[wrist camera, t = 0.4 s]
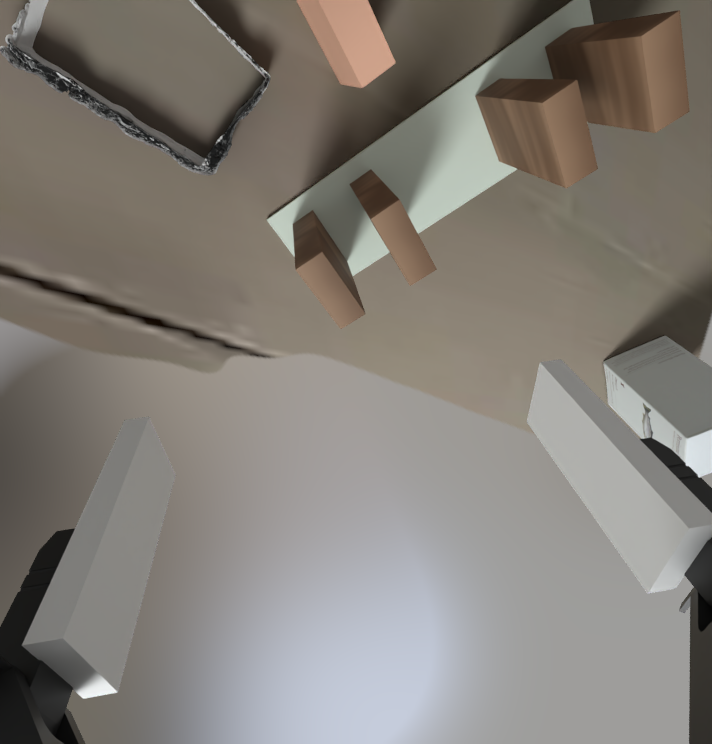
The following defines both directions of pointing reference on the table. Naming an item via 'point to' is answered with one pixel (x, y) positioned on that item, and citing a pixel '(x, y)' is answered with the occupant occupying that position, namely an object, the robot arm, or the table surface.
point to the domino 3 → (393, 226)
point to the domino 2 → (325, 270)
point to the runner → (428, 152)
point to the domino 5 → (626, 70)
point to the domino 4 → (539, 128)
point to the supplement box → (665, 398)
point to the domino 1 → (349, 39)
